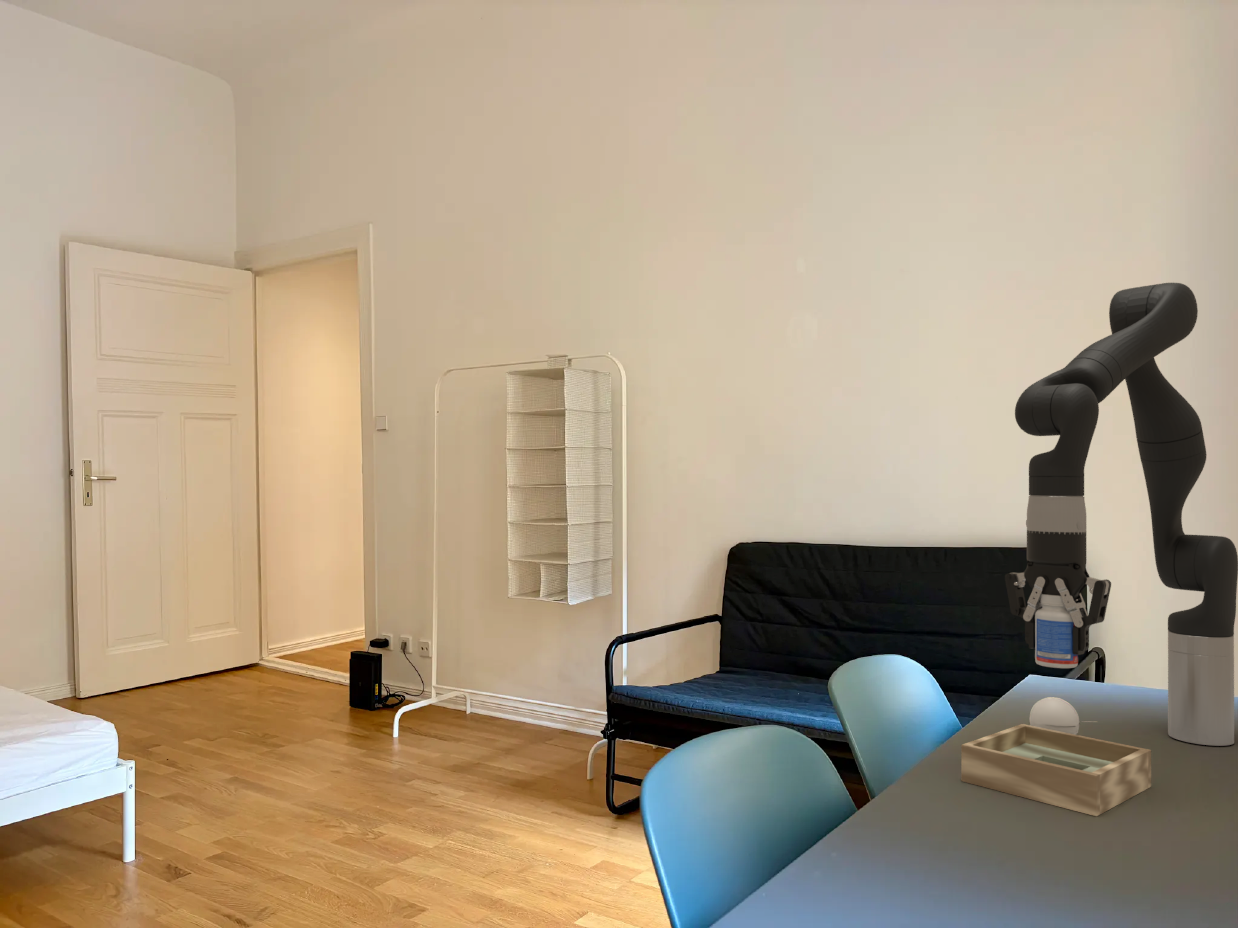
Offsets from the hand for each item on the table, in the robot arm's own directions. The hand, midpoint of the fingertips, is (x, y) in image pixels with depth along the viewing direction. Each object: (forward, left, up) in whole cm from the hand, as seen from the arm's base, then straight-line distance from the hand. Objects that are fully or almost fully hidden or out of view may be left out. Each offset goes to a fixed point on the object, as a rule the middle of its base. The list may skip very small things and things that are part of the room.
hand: (1056, 650), depth 130 cm
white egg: (-21, -8, -19) cm, 29 cm away
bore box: (0, 0, -18) cm, 18 cm away
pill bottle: (0, 0, -2) cm, 2 cm away
